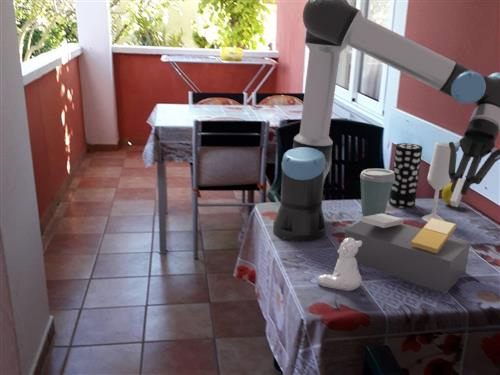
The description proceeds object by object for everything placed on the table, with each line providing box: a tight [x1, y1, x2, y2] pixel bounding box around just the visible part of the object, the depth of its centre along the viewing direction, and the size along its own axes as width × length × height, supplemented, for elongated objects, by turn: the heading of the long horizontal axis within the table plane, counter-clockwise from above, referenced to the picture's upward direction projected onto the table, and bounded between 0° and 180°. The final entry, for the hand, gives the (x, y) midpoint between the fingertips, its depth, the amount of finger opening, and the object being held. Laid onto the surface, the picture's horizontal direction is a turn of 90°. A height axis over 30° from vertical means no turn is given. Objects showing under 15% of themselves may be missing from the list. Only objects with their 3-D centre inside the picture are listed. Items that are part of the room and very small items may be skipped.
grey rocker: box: [360, 213, 405, 228], centre depth 124 cm, size 12×6×1 cm, turn 140°
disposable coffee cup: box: [359, 168, 395, 217], centre depth 153 cm, size 11×11×15 cm
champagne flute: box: [421, 141, 452, 223], centre depth 150 cm, size 7×7×24 cm
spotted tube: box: [388, 142, 423, 209], centre depth 164 cm, size 8×8×20 cm
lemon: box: [441, 181, 453, 206], centre depth 166 cm, size 6×6×8 cm
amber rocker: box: [411, 218, 457, 253], centre depth 116 cm, size 12×6×1 cm, turn 140°
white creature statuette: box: [317, 237, 363, 292], centre depth 112 cm, size 10×9×12 cm
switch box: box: [344, 220, 471, 295], centre depth 122 cm, size 14×26×8 cm, turn 50°
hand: (453, 203), depth 120 cm, fingers closed
